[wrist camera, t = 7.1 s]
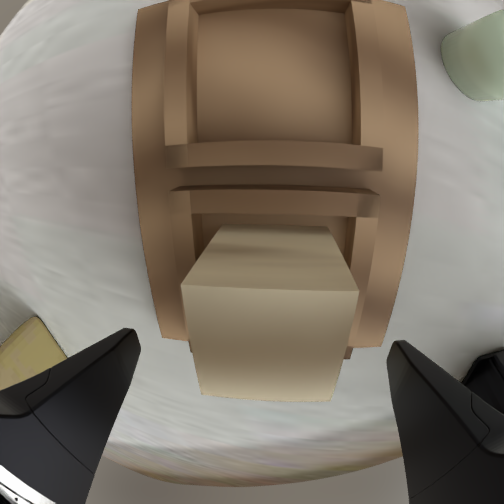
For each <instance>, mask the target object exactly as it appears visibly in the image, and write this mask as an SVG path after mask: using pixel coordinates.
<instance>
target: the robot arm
mask: <svg viewBox="0 0 504 504" xmlns="http://www.w3.org/2000/svg"><path fill="white" fill-rule="evenodd" d="M140 352H141V346H140V343H139V340H138V337H137V333H136V331H135V330H134V329H130V328H123V329H121V330H119V331H117V332H116V333H114V334H112V335H110V336H108V337H106V338H104V339H103V340H101V341H99V342H97V343H95V344H93V345H91V346H90V347H88V348H86V349H84V350H82V351H80V352H78V353H77V354H75V355H73V356H71V357H69V358H67V359H65V360H64V361H62V362H60V363H58V364H56V365H54V366H52V368H48V369H47V370H45V371H43V372H41V373H39V374H37V375H35V376H33V377H31V378H28V379H26V380H24V381H22V382H19V383H17V384H14V385H12V386H10V387H7V388H5V389H2V390H0V504H85V502H86V499H87V496H88V493H89V490H90V487H91V484H92V481H93V478H94V474H95V472H96V469H97V467H98V464H99V461H100V459H101V456H102V453H103V450H104V448H105V445H106V443H107V440H108V437H109V435H110V432H111V430H112V427H113V425H114V422H115V420H116V417H117V415H118V413H119V410H120V408H121V405H122V403H123V401H124V398H125V396H126V394H127V391H128V389H129V386H130V384H131V381H132V378H133V374H134V371H135V368H136V365H137V362H138V358H139V355H140ZM387 370H388V377H389V384H390V392H391V399H392V404H393V409H394V413H395V418H396V422H397V427H398V432H399V437H400V442H401V448H402V453H403V459H404V465H405V472H406V478H407V486H408V495H409V504H504V350H503V351H500V352H496V353H493V354H489V355H485V356H481V357H479V358H477V360H476V361H475V362H474V364H473V366H472V368H471V369H470V371H469V373H468V374H467V376H466V378H465V379H464V381H463V382H462V384H461V383H460V382H459V381H458V380H456V379H455V378H454V377H452V376H451V375H450V374H449V373H447V372H446V371H445V370H443V369H442V368H441V367H440V366H438V365H437V364H436V363H434V362H433V361H432V360H430V359H429V358H428V357H426V356H425V355H424V354H423V353H421V352H420V351H419V350H417V349H416V348H415V347H413V346H412V345H411V344H409V343H408V342H407V341H405V340H399V341H394V342H393V344H392V347H391V349H390V352H389V355H388V357H387Z"/></svg>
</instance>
